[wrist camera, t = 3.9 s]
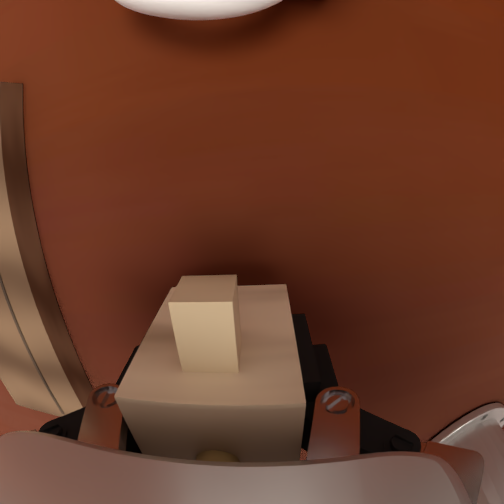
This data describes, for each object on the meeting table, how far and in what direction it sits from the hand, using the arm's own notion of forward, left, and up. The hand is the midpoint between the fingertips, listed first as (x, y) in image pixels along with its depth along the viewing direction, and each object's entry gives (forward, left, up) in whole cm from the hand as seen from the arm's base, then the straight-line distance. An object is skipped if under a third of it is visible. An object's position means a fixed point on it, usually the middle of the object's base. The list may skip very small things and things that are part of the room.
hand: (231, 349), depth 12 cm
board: (+2, +15, -4) cm, 16 cm away
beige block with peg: (0, 0, -1) cm, 1 cm away
